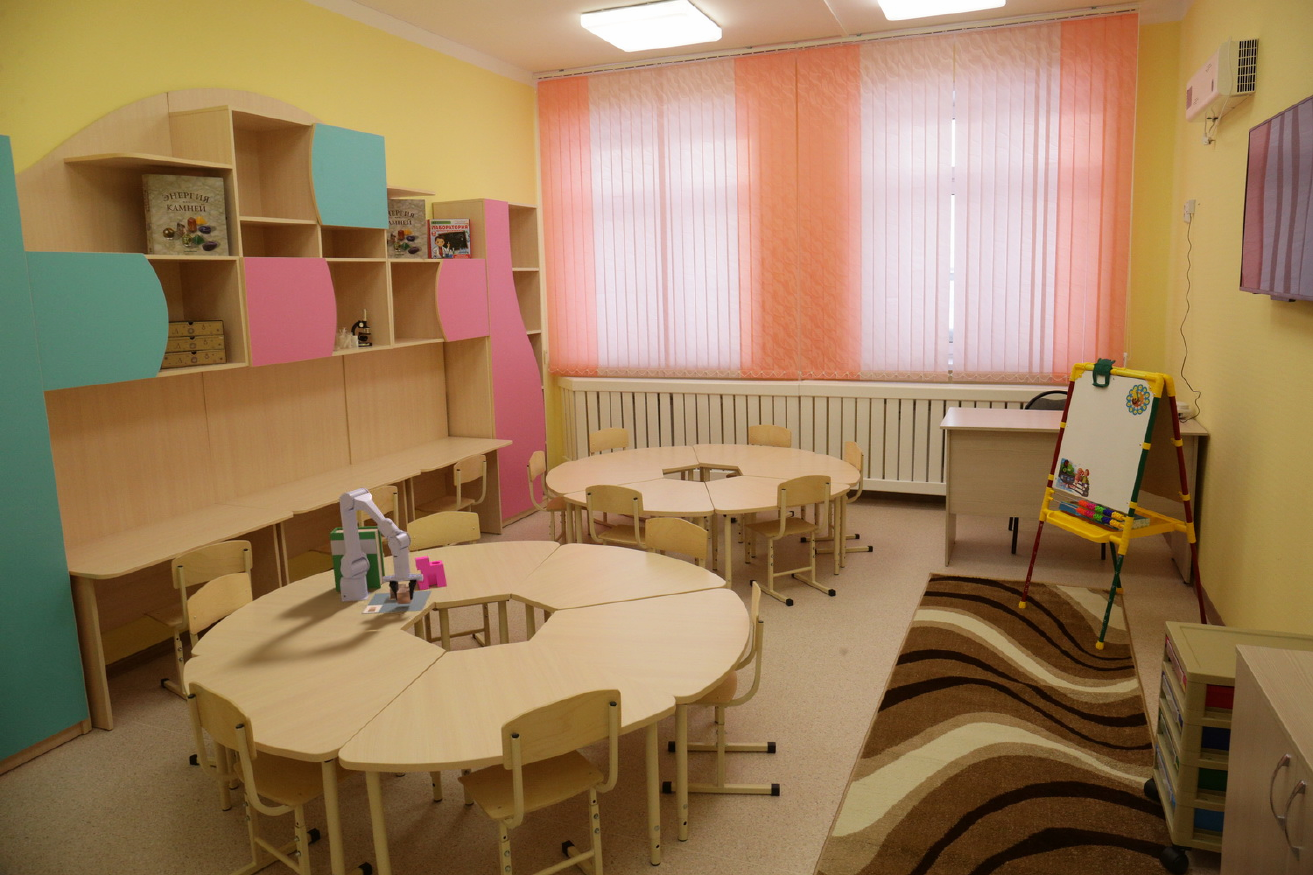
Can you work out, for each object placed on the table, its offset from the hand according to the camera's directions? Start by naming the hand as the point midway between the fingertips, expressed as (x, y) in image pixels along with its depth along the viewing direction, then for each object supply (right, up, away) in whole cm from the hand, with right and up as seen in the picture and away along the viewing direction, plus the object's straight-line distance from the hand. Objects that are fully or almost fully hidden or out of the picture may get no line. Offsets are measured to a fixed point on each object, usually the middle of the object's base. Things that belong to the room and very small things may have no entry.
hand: (404, 599), depth 334 cm
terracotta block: (0, -1, 0) cm, 1 cm away
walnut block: (-6, -1, +11) cm, 12 cm away
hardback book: (-24, +1, +24) cm, 34 cm away
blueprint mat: (-4, -2, +5) cm, 7 cm away
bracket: (+4, +1, +24) cm, 24 cm away
